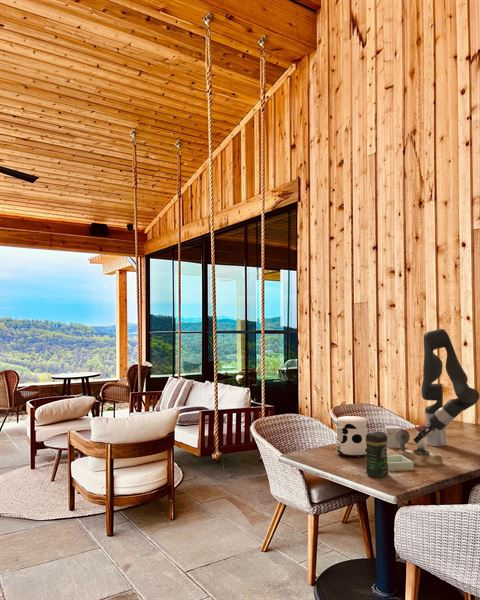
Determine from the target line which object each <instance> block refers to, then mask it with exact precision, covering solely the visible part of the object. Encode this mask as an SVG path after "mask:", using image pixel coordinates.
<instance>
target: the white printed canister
mask: <svg viewBox="0 0 480 600" xmlns="http://www.w3.org/2000/svg"><path fill="white" fill-rule="evenodd" d="M368 425H369V423H368V418H366V417H362V416H355V415H354V416H353V415H346V416H345V415H344V416H339V417H337V420H336V431H337V432H336V433H337V435H336V438H335V439H336V440H335V448H336V451H337V452H338V454H340V455H343V456H345V457H354V458H356V457H357V458H358V457H365V456H367V445H366V435H367V434H369V426H368Z"/></svg>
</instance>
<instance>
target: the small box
mask: <svg viewBox="0 0 480 600" xmlns="http://www.w3.org/2000/svg"><path fill="white" fill-rule="evenodd" d="M398 429H402V427H400V426H399V425H385V426H384V433H385V434H386V435H387V449H388V448H389V449H391V448H392V449H393V448H396V449H397V448H399V449H400V443H399V442H397V441H396V440H395V432H396V431H397V430H398Z"/></svg>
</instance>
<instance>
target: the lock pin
mask: <svg viewBox="0 0 480 600" xmlns="http://www.w3.org/2000/svg"><path fill="white" fill-rule="evenodd" d="M425 427H426V424H415V425H414V429H415V430H416V436H418V433H420V432H421V431H422V429H424V428H425ZM421 434H422V436H424V434H423V433H421ZM416 449H417V451H418V452H425V449H426V437H424V438H422V439H421V440H420V441H419V442H418V443H416Z"/></svg>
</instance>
